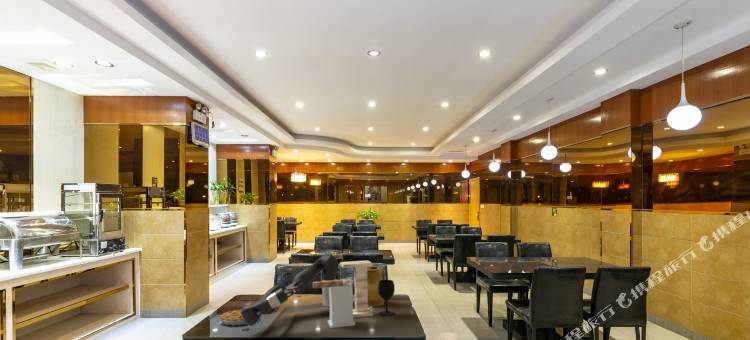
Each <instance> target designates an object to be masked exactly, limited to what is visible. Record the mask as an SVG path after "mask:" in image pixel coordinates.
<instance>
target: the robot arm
mask: <svg viewBox="0 0 750 340" xmlns="http://www.w3.org/2000/svg"><path fill="white" fill-rule="evenodd" d="M323 270H325V273H324V274H322V276H321V277H322V278H321V279H322V281H331V280H337V274H338V259H337V257H336V256H334V255H331V254H330V255H329V254H324V255H322V256H321V257H319V258H318V259H317V260H316V261H314V263H312V264H310V265H309V266H308V267H306V268H304V269H303V270H302V271H301V270H300V271H299V272H298V273H296V275H294V277H293V279H292V282H291V283H290V284H289V285H287V286H285V287H284V289H283V288H282V286H281V285H280V284H275V285H274V286H272V287H270V288H269V289H268V290H267V291H266V292H265V293H264V294H263V295H262V297H261V298H260V299H259V300H257V302H255V303H253V304H249V305H246V306H244V307H242V308H241V309H242V310H241V309H240V310H241V315H242V317H243V318H244V320H245V322H246V324H245V325H246V326H250V327H251V326H254V325H256V324H257V323H258V321H260V319H261V316H262V315H263V314H267V313H269V312H270V311H272V310H273V309H275V308H277V307H279V306H280V305H282V304H283V303H285V302H287V301H289V298H290V297H292V296H293V295H296V294H297V293H298V292H299V291H300V290H301V289H303V288H304V287H306V286H307V285H308V284H310V283H312V282H313V280H314V279H315V277H316V276H317V274H319V272H321V271H323ZM321 290H322V306H323V307H330V300H329V287H325V288H321Z"/></svg>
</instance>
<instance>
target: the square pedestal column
mask: <svg viewBox="0 0 750 340" xmlns="http://www.w3.org/2000/svg"><path fill="white" fill-rule="evenodd" d="M339 263H340V267H342V269H349V268H353V271H354V272H353V274H354V275H353V276H354V308H353V319H355V318H365V317H373V316H374V311H373V310H371V308H370V307H369V305H368V289H367V267H369V266H373V264H372V262H371V261H369V260H368V259H367V260H357V261H354V260H353V261H341V262H339Z"/></svg>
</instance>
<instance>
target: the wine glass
mask: <svg viewBox="0 0 750 340" xmlns="http://www.w3.org/2000/svg"><path fill="white" fill-rule="evenodd" d="M395 289H396V288H395V283H394V281H393V280H391V279H383V280H380V281H379V284H378V293H379V295H380V296H381V298H383V299H384V301H385V302H384V303H385V310H381V311H379V312H378V315H379V316H382V317H391V316H395V315H396V312H395V311H392V310H389V309H388V301H389V300H391V299H392V297H393V296H394V294H395V291H396V290H395Z"/></svg>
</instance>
